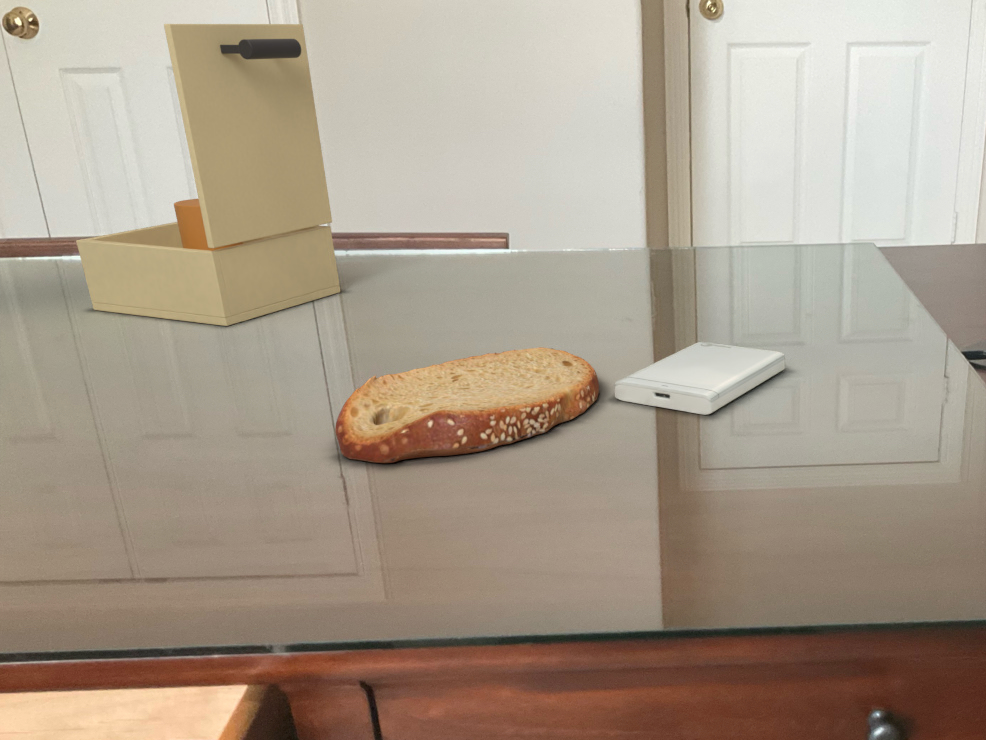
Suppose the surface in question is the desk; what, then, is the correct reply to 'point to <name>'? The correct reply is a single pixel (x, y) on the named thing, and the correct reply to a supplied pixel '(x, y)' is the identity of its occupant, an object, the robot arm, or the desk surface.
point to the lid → (250, 128)
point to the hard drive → (700, 377)
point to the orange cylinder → (193, 225)
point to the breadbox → (207, 274)
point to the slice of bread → (464, 405)
